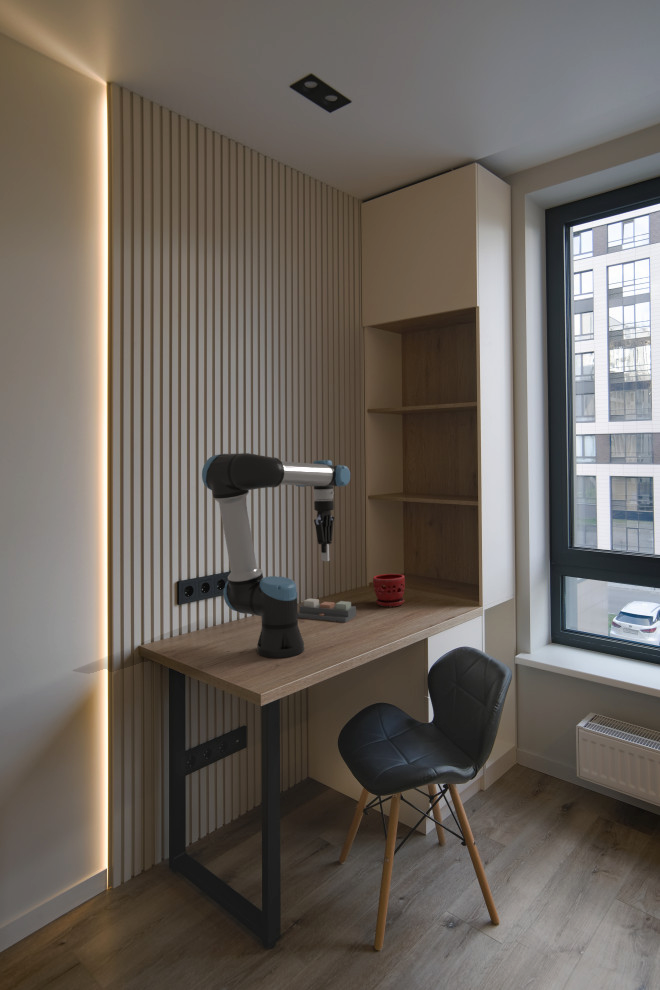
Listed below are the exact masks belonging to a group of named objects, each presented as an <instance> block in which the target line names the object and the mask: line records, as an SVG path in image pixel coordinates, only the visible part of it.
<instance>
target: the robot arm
mask: <svg viewBox="0 0 660 990" xmlns="http://www.w3.org/2000/svg"><path fill="white" fill-rule="evenodd" d="M201 478H202V484H203V485H204V486H205V487H206V489H208V490H210V491H211V492H212V494H211V495H212V499H213V500H215V501H217V503H218V506H219V511H220V517H221V521H222V528H223V533H224V539H225V545H226V549H227V556H228V560H229V561H228V562H229V567H230V573H229V574H228V576H227V581H226V582H225V585H224V588H223V591H222V593H223V599H224V603H225V604H226V606H227V607H228V608H229V609H230V610H232V611H235V612H238V613H240V614H248V615H253V616H257V617H258V616H260V617H261V630H260V632H259V633H260V634H259V637H258V641H257V645H256V651H257V652H256V653H257V654H258V655H260V656H262V657H264V658H271V659H274V658H275V659H281V658H282V659H283V658H290V657H295V656H298V655H300V654H301V653H303V652H305V642H304V639H303V637H302V633H301V631H300V628H299V624H298V621H299V618H298V613H299V611H298V591H297V584H296V582H295V581H294V580H292V579H291V578H289V577H285V576H275V575H273V576H272V575H271V576H266V577H264V575H263V570H262V569H261V568H259V567H258V566H257V559H256V554H255V548H254V542H253V535H252V532H251V525H250V519H249V512H248V507H247V501H246V498H247V496H248V495H249V494H250V492H249V491H252V490H259V489H265V488H278V487H279V486H281V485H282V486H283V485H285V486H296V487H298V488H299V487H302V488H304V487H313V500H314V502H313V508H314V510H315V511H316V512H317V515H316V517H317V518H316V519H314V520H313V523H314V525H315V531H316V532H315V533H316V538H317V543H318V545H320V548H321V549H320V551H321V554H320V555H321V561H322V562H329V561H331V559H330V544H332V541H333V532H334V531H333V529H334V521H335V517H334V516H332V511H333V510H334V509H335V507H334V505H335V504H334V500H333V499H334V494H335V492H334V487H338V488H339V487H345V486H347V485H348V484H349V483H350V481H351V471H350V469H349V467H348V466H346V465H343V464H337V465H334V464H333V462H332V460H330V459H323V460H322V459H321V460H313V462H312V463H310V462H309V463H308V462H307V463H306V462H296V461H286V460H285V461H282V460H281V459H280V458H278V457H272V456H267V455H260V454H256V453H249V452H248V453H247V452H243V453H241V452H240V453H220V454H219V453H218V454H215V455H212V456H211V457H208V459H207V460H206V461H205V464H204V465H203V467H202V469H201Z"/></svg>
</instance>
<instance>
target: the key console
mask: <svg viewBox="0 0 660 990" xmlns="http://www.w3.org/2000/svg"><path fill="white" fill-rule="evenodd" d="M320 604H321V603H320V602H319V605H318V606H316V607H308V606H304V603H303V604H302V605H301V604H300V606H298V610H299V611H298V619H306V618H309V620H316V619H319V621H326V620H329V621H328V622H336V621H338V622H337V623H345V622H346V623H347V622H349V621H350V619H351V620H352V619H354V618H355V616H356V617H357V607H356V606H355V605H353V606H352V605H351V608H350V609H348V610H340V609H336V604H335V606H334V607H332V608H331V609H329V608H320ZM353 617H354V618H353Z"/></svg>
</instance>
